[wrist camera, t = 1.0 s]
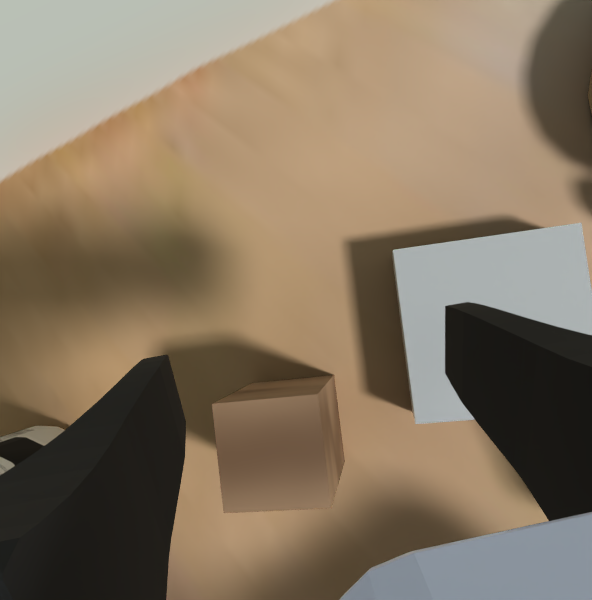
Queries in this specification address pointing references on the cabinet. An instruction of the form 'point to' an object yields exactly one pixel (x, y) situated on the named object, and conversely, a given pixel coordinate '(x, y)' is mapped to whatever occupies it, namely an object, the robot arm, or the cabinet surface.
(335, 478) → the walnut block
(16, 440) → the supplement can
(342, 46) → the cabinet surface
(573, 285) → the grey stone block
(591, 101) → the alarm clock
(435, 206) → the cabinet surface
